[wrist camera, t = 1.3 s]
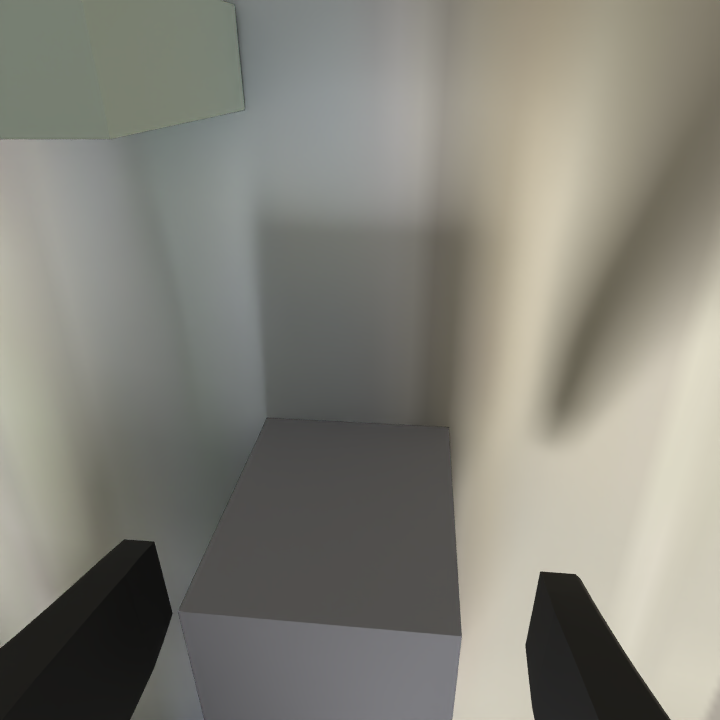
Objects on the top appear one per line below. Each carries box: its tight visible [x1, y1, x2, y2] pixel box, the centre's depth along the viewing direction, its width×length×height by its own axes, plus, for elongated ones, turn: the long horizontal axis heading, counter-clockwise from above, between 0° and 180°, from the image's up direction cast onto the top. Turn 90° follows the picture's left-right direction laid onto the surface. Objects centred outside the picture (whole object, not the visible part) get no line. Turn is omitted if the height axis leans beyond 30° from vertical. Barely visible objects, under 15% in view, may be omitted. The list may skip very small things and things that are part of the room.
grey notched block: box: [178, 418, 462, 720], centre depth 12 cm, size 8×4×5 cm, turn 1°
